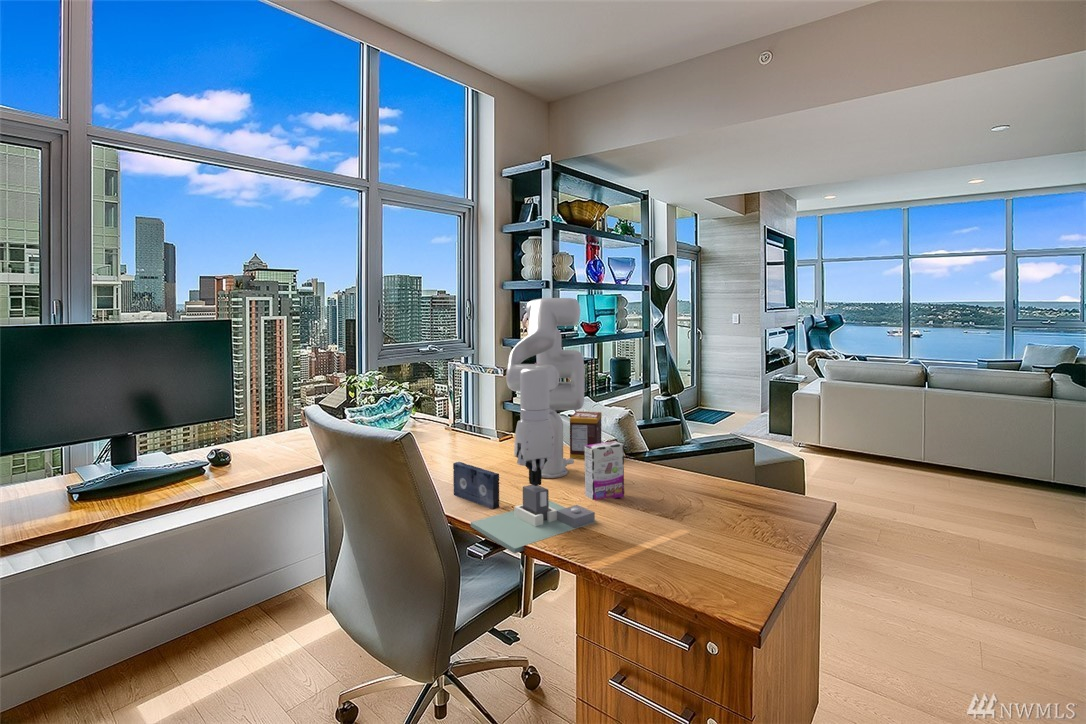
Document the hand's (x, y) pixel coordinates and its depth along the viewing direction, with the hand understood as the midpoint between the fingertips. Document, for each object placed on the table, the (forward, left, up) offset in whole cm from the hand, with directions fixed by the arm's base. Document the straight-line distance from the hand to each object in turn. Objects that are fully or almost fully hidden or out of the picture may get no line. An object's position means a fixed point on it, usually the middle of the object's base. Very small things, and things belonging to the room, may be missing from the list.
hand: (535, 484), depth 141 cm
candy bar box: (-27, -2, -11) cm, 29 cm away
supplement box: (-57, -43, -11) cm, 72 cm away
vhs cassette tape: (+4, -24, -11) cm, 27 cm away
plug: (0, 0, -9) cm, 9 cm away
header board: (+2, +2, -10) cm, 11 cm away
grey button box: (-7, +8, -9) cm, 14 cm away
